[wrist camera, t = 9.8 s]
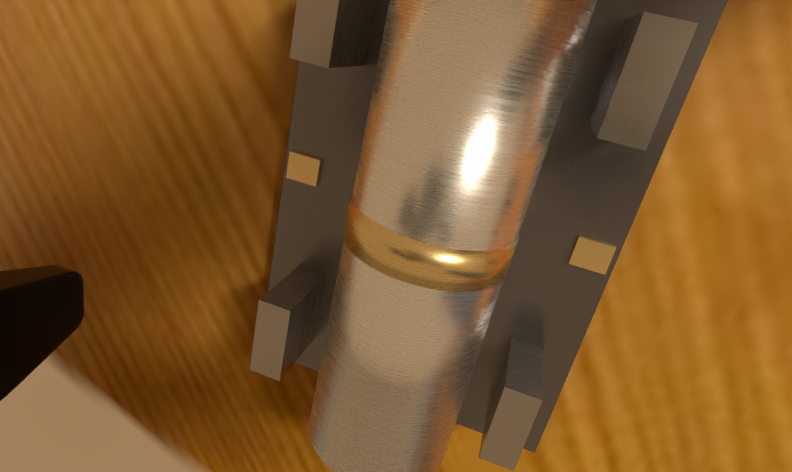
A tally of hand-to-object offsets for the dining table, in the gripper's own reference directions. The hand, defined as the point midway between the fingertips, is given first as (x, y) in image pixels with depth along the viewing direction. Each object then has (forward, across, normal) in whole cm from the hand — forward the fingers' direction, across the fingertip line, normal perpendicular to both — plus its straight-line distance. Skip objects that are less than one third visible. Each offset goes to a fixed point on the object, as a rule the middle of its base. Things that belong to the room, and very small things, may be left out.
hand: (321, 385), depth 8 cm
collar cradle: (+11, 0, 0) cm, 11 cm away
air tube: (+11, 0, 0) cm, 11 cm away
